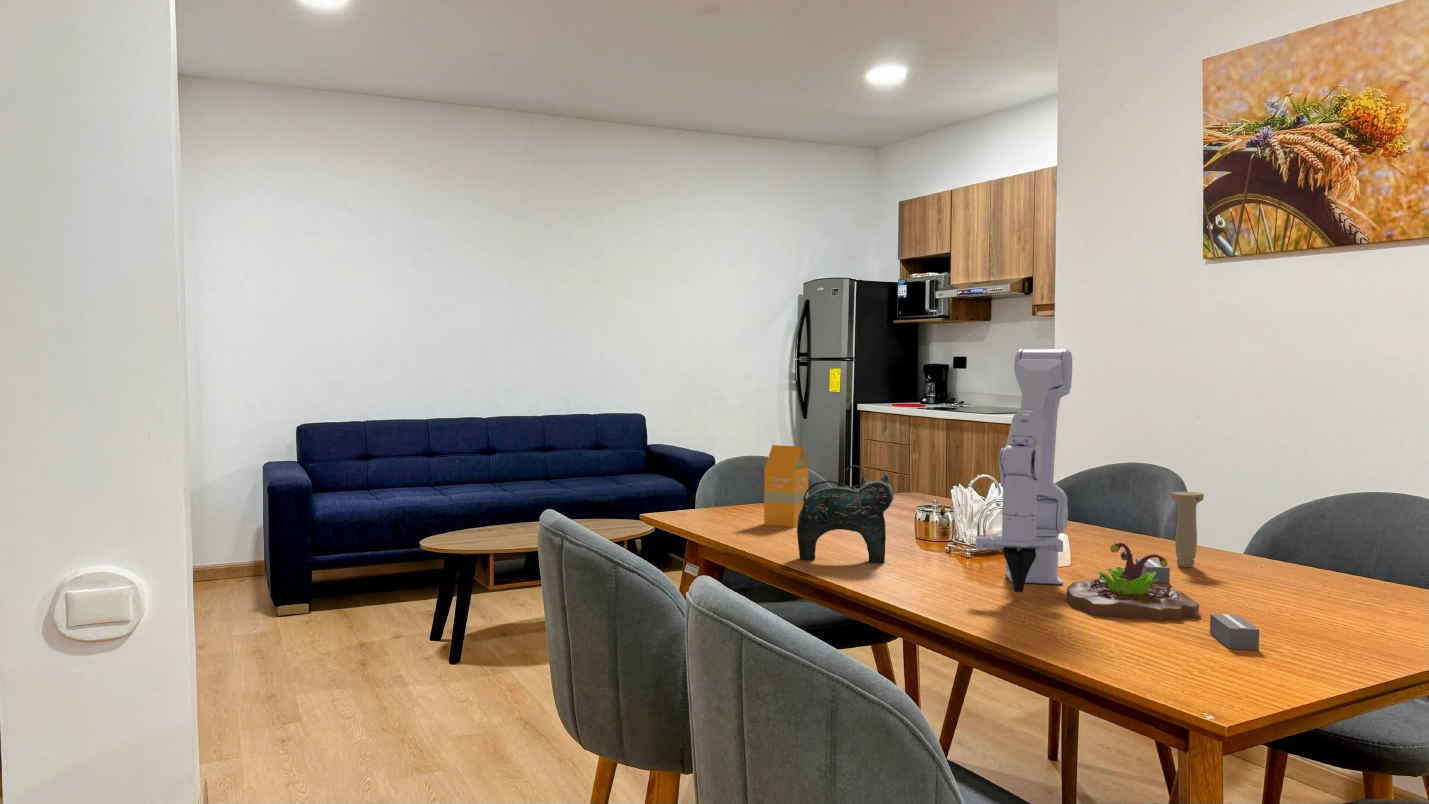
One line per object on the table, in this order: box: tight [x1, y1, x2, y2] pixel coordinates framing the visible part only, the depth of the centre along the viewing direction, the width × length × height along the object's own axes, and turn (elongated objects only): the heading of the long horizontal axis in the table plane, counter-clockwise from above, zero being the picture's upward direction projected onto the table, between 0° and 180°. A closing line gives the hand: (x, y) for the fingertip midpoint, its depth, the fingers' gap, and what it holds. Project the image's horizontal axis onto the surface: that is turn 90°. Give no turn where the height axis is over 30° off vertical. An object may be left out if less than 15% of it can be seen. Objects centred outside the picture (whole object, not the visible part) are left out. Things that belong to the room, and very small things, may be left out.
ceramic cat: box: [796, 464, 894, 564], centre depth 199 cm, size 20×6×20 cm, turn 80°
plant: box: [1066, 542, 1200, 622], centre depth 163 cm, size 20×20×11 cm
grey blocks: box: [1135, 558, 1260, 651], centre depth 163 cm, size 4×50×3 cm, turn 171°
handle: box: [1170, 491, 1205, 569], centre depth 194 cm, size 5×6×15 cm
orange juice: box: [763, 444, 810, 528], centre depth 244 cm, size 8×9×20 cm
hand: (1017, 590), depth 167 cm, fingers closed
